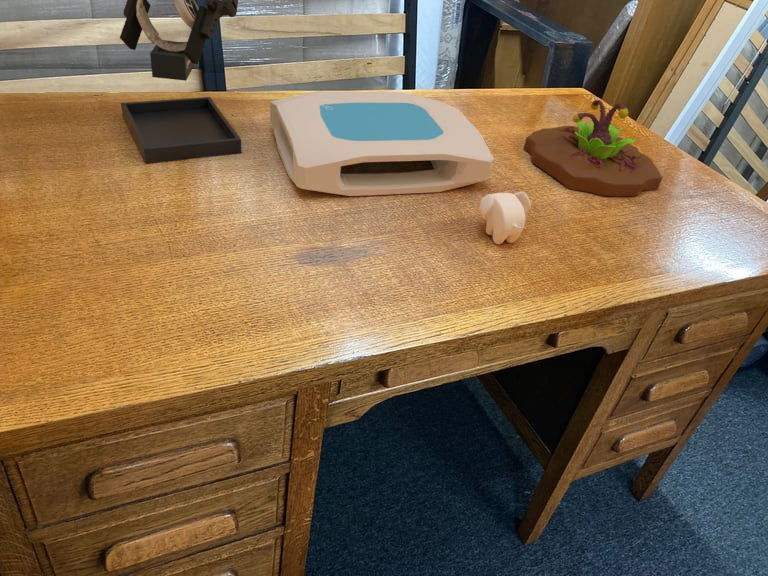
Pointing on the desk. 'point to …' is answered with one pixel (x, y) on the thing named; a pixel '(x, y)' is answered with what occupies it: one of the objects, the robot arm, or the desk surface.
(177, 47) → the watch
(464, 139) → the document scanner
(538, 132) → the plant
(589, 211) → the desk surface
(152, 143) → the tray
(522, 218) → the elephant figurine
